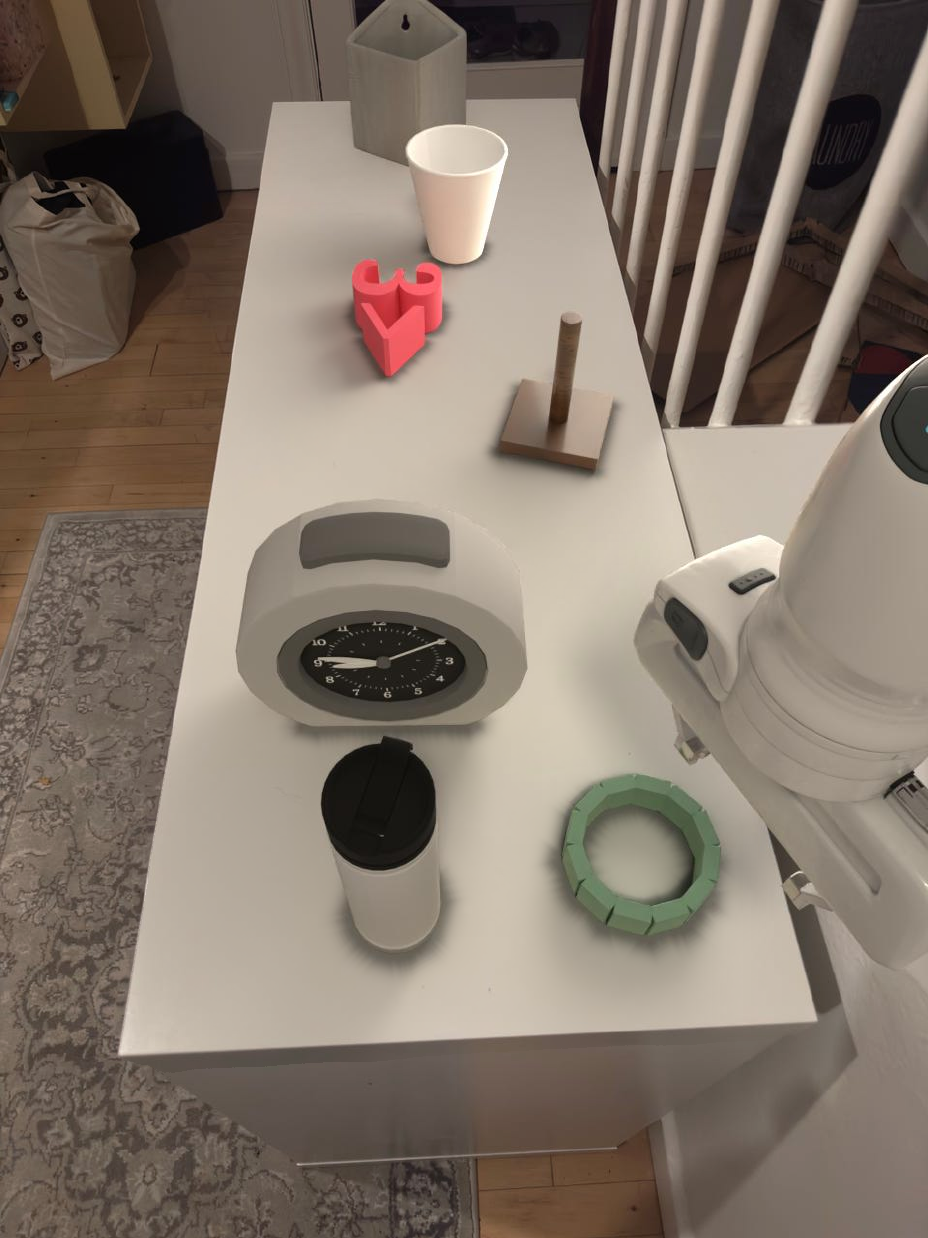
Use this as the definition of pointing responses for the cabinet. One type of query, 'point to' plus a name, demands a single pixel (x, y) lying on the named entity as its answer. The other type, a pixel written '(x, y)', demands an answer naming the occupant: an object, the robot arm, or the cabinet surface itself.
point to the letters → (396, 311)
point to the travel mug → (385, 842)
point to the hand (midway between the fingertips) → (743, 818)
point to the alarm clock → (382, 618)
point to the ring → (676, 810)
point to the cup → (456, 187)
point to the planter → (404, 76)
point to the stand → (559, 411)
